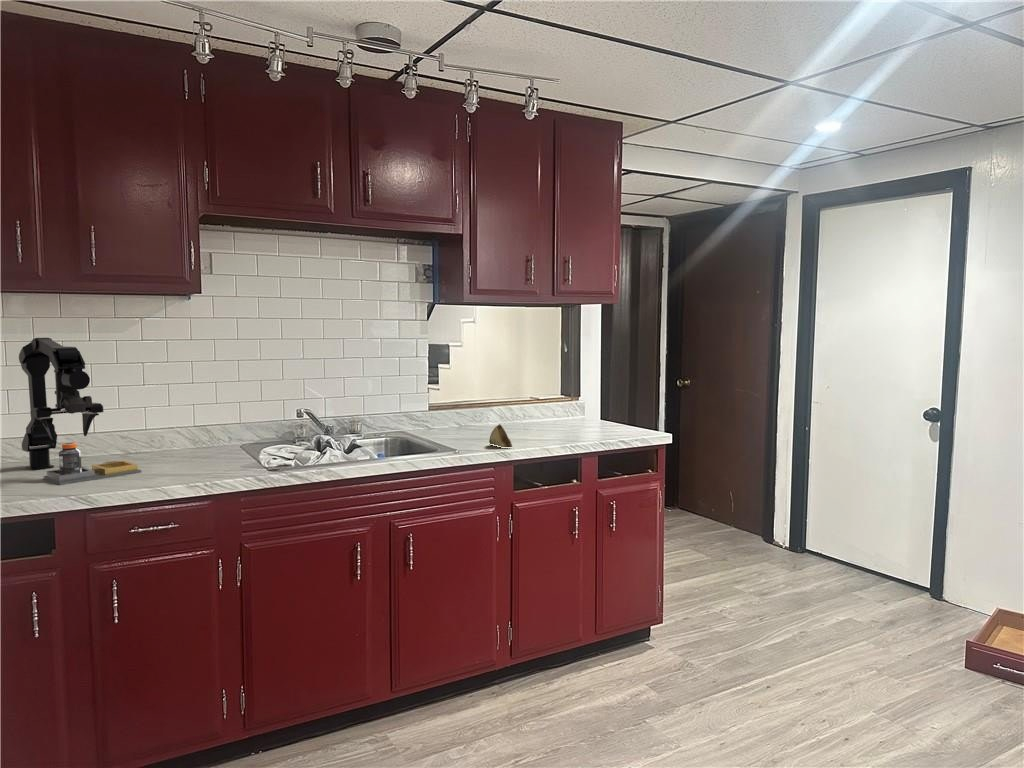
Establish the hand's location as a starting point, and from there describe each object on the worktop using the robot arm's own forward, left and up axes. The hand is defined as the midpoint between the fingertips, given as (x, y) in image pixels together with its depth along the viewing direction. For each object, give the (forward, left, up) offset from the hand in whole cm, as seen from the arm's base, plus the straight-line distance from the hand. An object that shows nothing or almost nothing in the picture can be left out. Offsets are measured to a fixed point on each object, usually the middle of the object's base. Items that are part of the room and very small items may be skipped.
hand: (69, 437), depth 224 cm
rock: (+64, +133, -13) cm, 148 cm away
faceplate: (0, +6, -13) cm, 15 cm away
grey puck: (-10, +17, -13) cm, 24 cm away
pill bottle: (0, 0, -13) cm, 13 cm away
